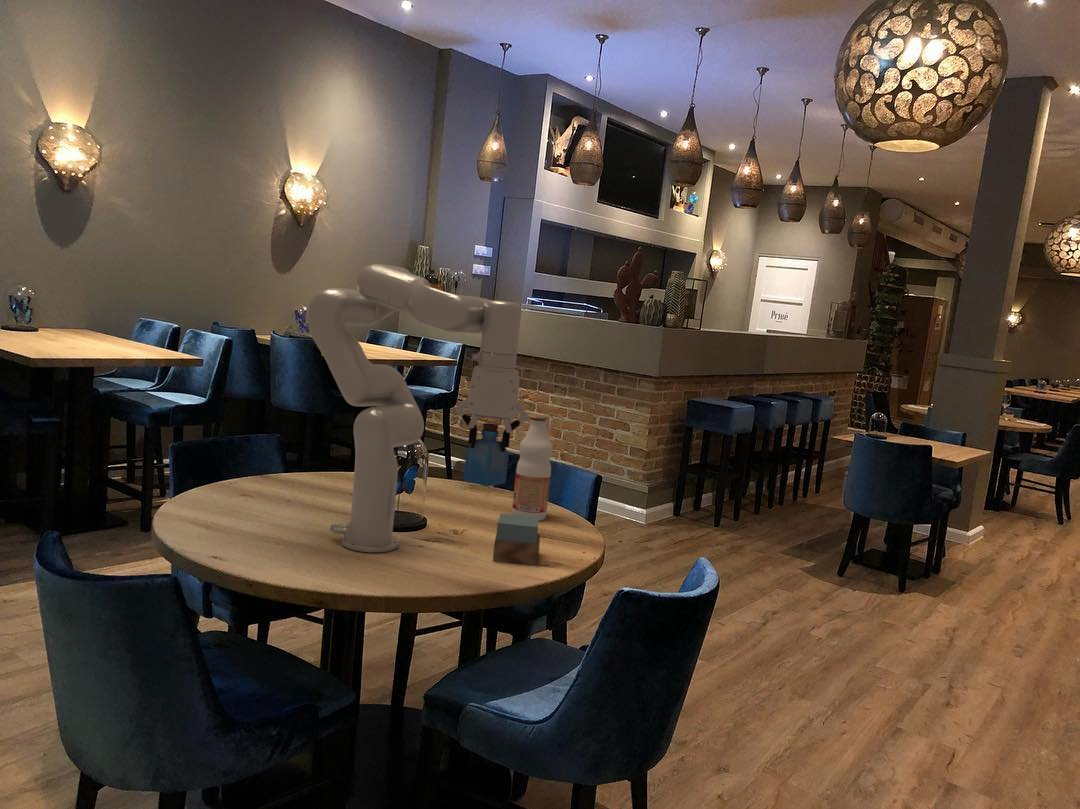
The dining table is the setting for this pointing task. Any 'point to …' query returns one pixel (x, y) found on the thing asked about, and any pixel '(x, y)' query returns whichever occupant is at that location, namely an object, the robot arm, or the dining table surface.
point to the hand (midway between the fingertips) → (488, 448)
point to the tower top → (517, 528)
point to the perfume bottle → (486, 459)
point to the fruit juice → (533, 471)
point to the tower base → (516, 552)
